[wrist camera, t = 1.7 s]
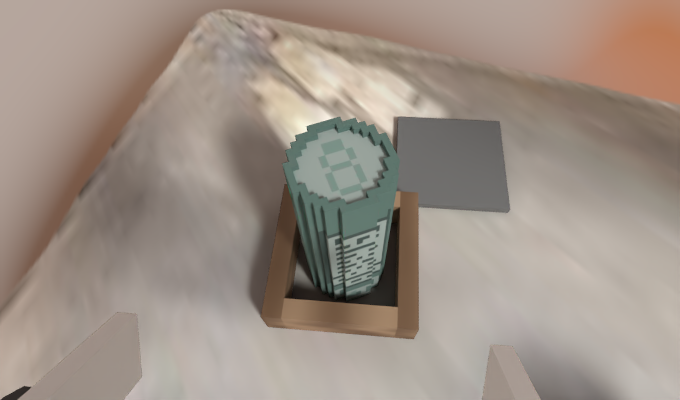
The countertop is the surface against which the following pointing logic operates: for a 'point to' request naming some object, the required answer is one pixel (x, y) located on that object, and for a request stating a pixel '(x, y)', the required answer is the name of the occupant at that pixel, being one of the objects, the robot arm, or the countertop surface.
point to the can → (343, 203)
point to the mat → (452, 163)
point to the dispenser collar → (345, 315)
